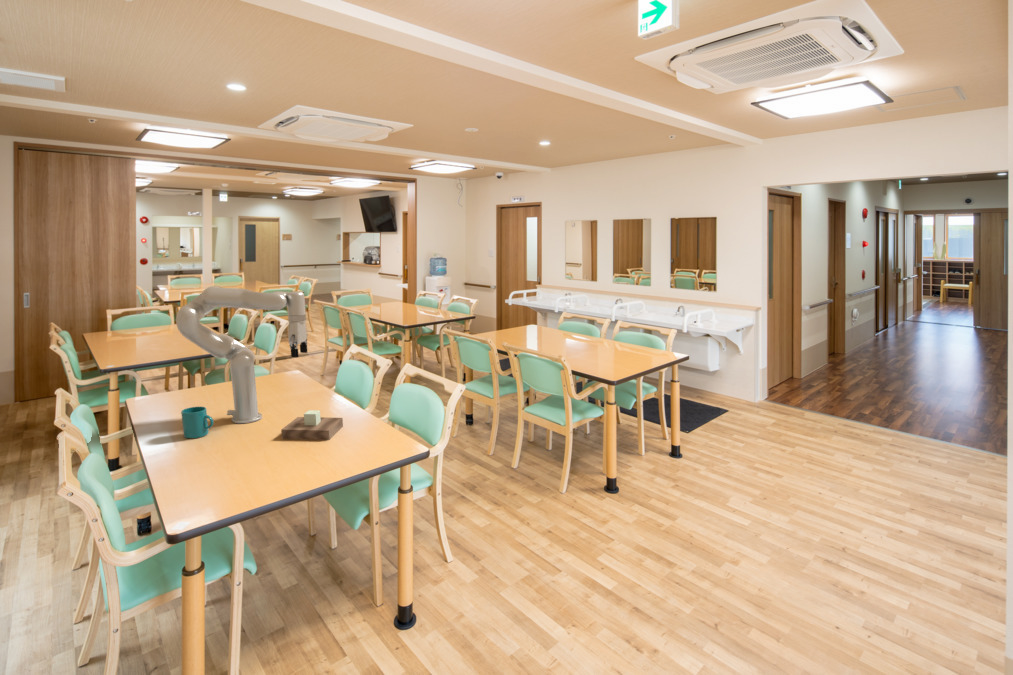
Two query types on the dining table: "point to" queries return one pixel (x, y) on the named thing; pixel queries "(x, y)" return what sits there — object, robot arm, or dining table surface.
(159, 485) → the dining table surface
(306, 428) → the walnut plinth
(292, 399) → the dining table surface
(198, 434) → the cup
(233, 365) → the robot arm
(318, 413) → the sage cube
